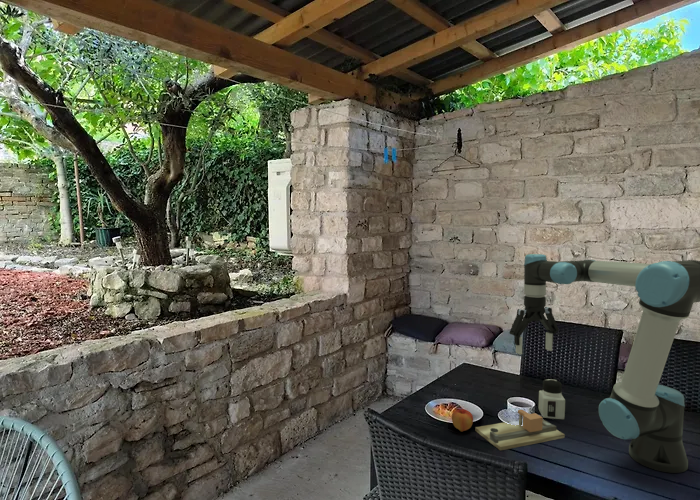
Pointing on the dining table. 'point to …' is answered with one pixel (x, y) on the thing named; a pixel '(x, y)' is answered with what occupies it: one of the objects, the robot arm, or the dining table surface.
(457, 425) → the apple
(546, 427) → the board
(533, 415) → the block
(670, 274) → the robot arm
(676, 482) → the dining table surface
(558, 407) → the container
